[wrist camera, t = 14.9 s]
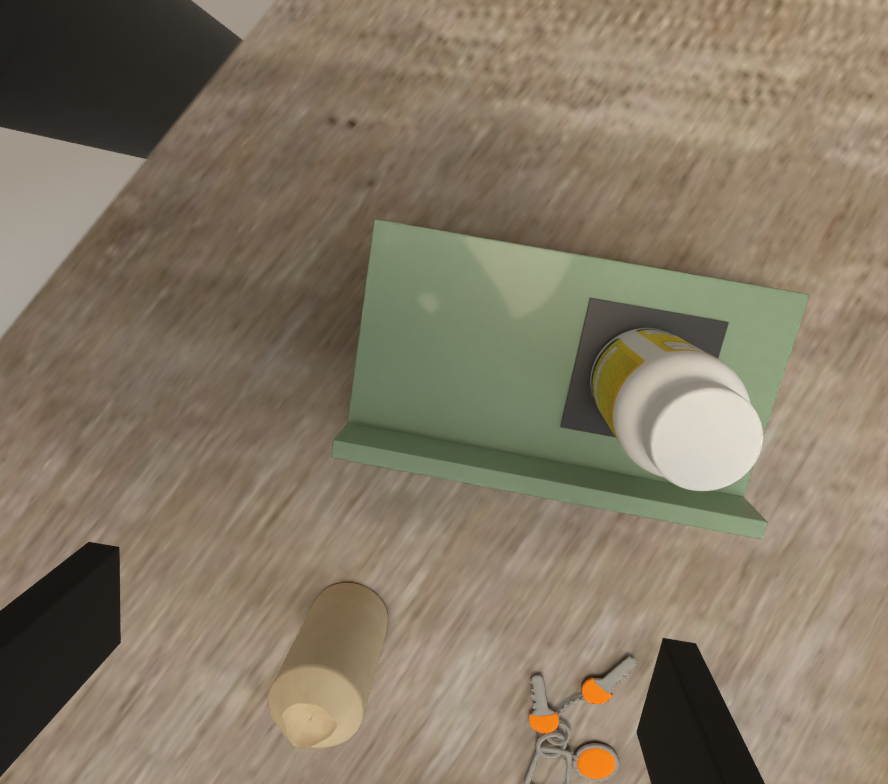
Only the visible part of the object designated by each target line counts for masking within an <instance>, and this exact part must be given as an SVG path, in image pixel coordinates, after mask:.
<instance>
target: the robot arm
mask: <svg viewBox="0 0 888 784" xmlns="http://www.w3.org/2000/svg"><path fill="white" fill-rule="evenodd" d="M120 643H121V634H120V556H119V547H116V546H110V545H104V544H98V543H92V542H88V543H87V544H85V545H84V546H83V547H82V548H80V549H79V550H78V551H76V552H75V553H74V554H73V555H71V556H70V557H69V558H67V559H66V560H65V561H64V562H62V563H61V564H60V565H58V566H57V567H56V568H55V569H53V570H52V571H51V572H49V573H48V574H47V575H46V576H44V577H43V578H42V579H40V580H39V581H38V582H37V583H35V584H34V585H33V586H31V587H30V588H29V589H28V590H26V591H25V592H24V593H22V594H21V595H20V596H19V597H17V598H16V599H15V600H13V601H12V602H11V603H10V604H8V605H7V606H6V607H5V608H3V609H2V610H1V611H0V777H1V776H2V774H3V773H4V772H5V771H6V770H7V769H8V768H9V767H10V766H11V764H12V763H13V762H14V761H15V760H16V759H17V758H18V757H19V756H20V754H21V753H22V752H23V751H24V750H25V749H26V748H27V747H28V745H29V744H30V743H31V742H32V741H33V740H34V739H35V738H36V737H37V735H38V734H39V733H40V732H41V731H42V730H43V729H44V728H45V726H46V725H47V724H48V723H49V722H50V721H51V720H52V719H53V718H54V716H55V715H56V714H57V713H58V712H59V711H60V710H61V709H62V708H63V706H64V705H65V704H66V703H67V702H68V701H69V700H70V699H71V697H72V696H73V695H74V694H75V693H76V692H77V691H78V690H79V689H80V687H81V686H82V685H83V684H84V683H85V682H86V681H87V680H88V678H89V677H90V676H91V675H92V674H93V673H94V672H95V671H96V670H97V668H98V667H99V666H100V665H101V664H102V663H103V662H104V661H105V659H106V658H107V657H108V656H109V655H110V654H111V653H112V652H113V651H114V649H115V648H116V647H117V646H118V645H119V644H120ZM637 736H638V739H639V743H640V746H641V749H642V753H643V756H644V760H645V763H646V767H647V770H648V774H649V777H650V781H651V784H765V783H764V781H763V779H762V777H761V775H760V773H759V771H758V769H757V767H756V765H755V763H754V761H753V759H752V757H751V755H750V752H749V750H748V748H747V746H746V744H745V742H744V740H743V738H742V736H741V734H740V732H739V730H738V728H737V726H736V724H735V722H734V720H733V718H732V716H731V714H730V712H729V710H728V708H727V706H726V704H725V702H724V700H723V698H722V696H721V694H720V691H719V689H718V687H717V685H716V683H715V681H714V679H713V677H712V675H711V673H710V671H709V669H708V667H707V665H706V663H705V661H704V659H703V657H702V655H701V653H700V651H699V649H698V647H697V645H696V643H690V642H684V641H678V640H672V639H666V638H663V640H662V643H661V647H660V650H659V654H658V657H657V661H656V665H655V668H654V672H653V675H652V679H651V682H650V686H649V689H648V693H647V697H646V700H645V704H644V707H643V711H642V714H641V718H640V721H639V725H638V729H637Z"/></svg>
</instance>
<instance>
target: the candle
mask: <svg viewBox="0 0 888 784" xmlns="http://www.w3.org/2000/svg"><path fill="white" fill-rule="evenodd" d="M387 627H388V614H387V610H386V607H385V605H384V603H383V602H382V600H381V599H380V598H379V596H378V595H377V594H375V593H374V592H373V591H372V590H370V589H368V588H367V587H364V586H362V585H359V584H355V583H338V584H335V585H332V586H330V587H328V588H326V589H325V590H324V591H322V592H321V593H320V595H319V596H318V597H317V598H316V600H315V601H314V603H313V605H312V607H311V609H310V611H309V613H308V615H307V617H306V619H305V621H304V623H303V625H302V627H301V629H300V631H299V633H298V635H297V637H296V639H295V641H294V643H293V645H292V647H291V649H290V651H289V653H288V655H287V657H286V659H285V661H284V663H283V665H282V667H281V669H280V671H279V673H278V675H277V677H276V679H275V681H274V683H273V685H272V687H271V689H270V693H269V698H268V706H269V711H270V714H271V716H272V718H273V720H274V722H275V724H276V725H277V726H278V728H279V729H280V730H281V731H282V733H283V734H284V735H285V736H286V737H287V739H288V740H289V742H290V744H291V745H292V746H294V747H296V748H307V747H311V748H325V747H331V746H335V745H338V744H341V743H343V742H345V741H347V740H348V739H350V738H351V737H352V736H353V735H354V734H355V733H356V732H357V730H358V729H359V727H360V725H361V722H362V719H363V715H364V712H365V708H366V704H367V701H368V697H369V694H370V690H371V686H372V683H373V679H374V676H375V672H376V668H377V665H378V661H379V657H380V654H381V650H382V647H383V643H384V639H385V636H386V631H387Z"/></svg>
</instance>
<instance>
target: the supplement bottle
mask: <svg viewBox="0 0 888 784" xmlns="http://www.w3.org/2000/svg"><path fill="white" fill-rule="evenodd" d="M590 386H591V392H592V396H593V399H594V401H595V404H596V406H597V407H598V409H599V411H600V413H601V415H602V416H603V418H604V419H605V421H606V423H607V424H608V426H609V427H610V429H611V430H612V432H613V434H614V435H615V437H616V439H617V440H618V442H619V443H620V445H621V447H622V448H623V450H624V451H625V452H626V454H627V455H628V456H629V457H630V458H631V459H632V460H633V461H634V462H635V463H636V464H637V465H639V466H640V467H641V468H643V469H645V470H646V471H648V472H650V473H653V474H655V475H658V476H661V477H665V478H666V479H667V480H669V481H670V482H672V483H673V484H675V485H677V486H679V487H682V488H685V489H688V490H694V491H711V490H716V489H720V488H723V487H726V486H728V485H731V484H732V483H734V482H736V481H737V480H739V479H740V478H742V477H743V476H744V475H745V474H746V473H747V472H748V471H749V470H750V469H751V468H752V466H753V465H754V464H755V462H756V460H757V458H758V456H759V454H760V451H761V448H762V442H763V429H762V424H761V421H760V418H759V416H758V414H757V412H756V411H755V409H754V408H753V406H752V405H751V403H750V399H749V395H748V393H747V390H746V388H745V386H744V384H743V383H742V381H741V379H740V378H739V377H738V375H737V374H736V373H735V372H734V371H733V370H732V369H731V368H730V367H728V366H727V365H726V364H725V363H723V362H722V361H720V360H719V359H717V358H715V357H714V356H712V355H710V354H708V353H706V352H704V351H703V350H701V349H699V348H697V347H695V346H693V345H692V344H690V343H688V342H686V341H685V340H683V339H681V338H679V337H678V336H676V335H674V334H672V333H669V332H667V331H663V330H660V329H655V328H639V329H634V330H630V331H627V332H624V333H622V334H620V335H618V336H617V337H615V338H614V339H612V340H611V341H610V342H608V343H607V344H606V345H605V346H604V347H603V349H602V350H601V351H600V353H599V354H598V356H597V357H596V359H595V362H594V364H593V367H592V371H591V377H590Z"/></svg>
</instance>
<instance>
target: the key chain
mask: <svg viewBox="0 0 888 784" xmlns="http://www.w3.org/2000/svg"><path fill="white" fill-rule="evenodd" d="M636 665H637V663H636V661H635V659H634V658H632V657H627V658H626V659H625V660H624V661H623V662H621V663H620V664H619V665H618V666H617V667H616V668H614V669H613V670H612V671H611V672H610V673H609V674H607V675H606V676H605V677H604V678H603V679H602V678H594V679H593V677H592V678H590V679H588V680H586V681H585V683H584V684H583V686H582V695H583V696H581V697H576V698H574V699H571V700H569V701H568V702H566V703H565V704H563V706H562V707H560V709H559V711H557V713H556V711H555V712H554V711H552V710H551V709H550V708H548V706H547V700H546V694H545V687H544V681H543V676H541V675H535V676H532V680H530V683H533V688H531V691H532V692H534V694H531V698H533V701H534V700H535V701H536V702H533V704H534V705H533V709H535V710H534V711H533V712H532V713H530V717H529V722H530V724H531V726H532V728H533V729H535V730H536V731H537V732H540V733H544V734H543V735H542V736H541V737H540V738H539V739H538V741H537V743H536V751H537V752H536V754H535V756H534V759H533V761H532V763H531V766H530V768H529V771H528V773H527V776H526V779H525V783H524V784H530V780H531V778H532V775H533V772H534V769H535V767H536V765H537V762H538V760H539V758H540V756H541V757H544V758H546V759H553V758H556V757H558V756H560V755H561V754H562V755H564V756H563V759H564V760H566V761H567V778H566V784H570V766H571V762H573V765H574V768H575V771H576V772H577V773H578V774H579V775H580V776H581V777H582V778H584V779H586V780H588V781H594V782H600V781H605V780H607V779H609V778H611V777H613V776H614V774H615V773H616V772H617V770H618V766H619V761H618V758H617V755H616V753H615V752H614V751H613V750H612V749H611V748H610V747H608V746H606V745H604V744H598V743H592V744H586V745H584V746H582V747H581V748H579V749H578V750H577V752H576V753H575V754H574V755H572V754H571V752H569V751H567V750H565V748H566V746H567V742H568V741H569V740H570V738H571V731H570V729H569V728H568V726H567V725H566V724H564V723H562V722H559V717H560V716H561V713H563V711H564V710H565V709H566V708H567V707H569V706H570V705H572V704H574V703H576V702H580V701H585V700H586V701H588V702H590V703H592V704H602V703H604V702H606V701H608V700H609V699H610V697H611V696H612V695H613V694H612V693H611V687H612V688H615V687H616V684H617V681H619V682H620V681H621V680H624V679H626V678H625V677H624V675H628V674H629V672H628V671H630V670H631V669H632V668H633V669H635V668H636ZM558 725H559V726H562V727H564V728H565V729H566V731H567V737H566V739H565V737H564V736H563V735H562V734H560V733H558V732H553V731H554V730H555V729H556V728H557V727H558ZM550 737H558V738H560V739H561V741H560V742H558V741H554V740H552V739H551V738H550ZM545 739H547V740H548V742H550V743H551V744H553V745H557V746H561V745H562V746H561V748H560V749H559V748H554V747H545V746H541V747H540V745H541V743H542V742H543V741H544V740H545ZM544 752H551V753H544ZM565 757H566V758H565ZM572 757H573V760H572Z"/></svg>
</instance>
